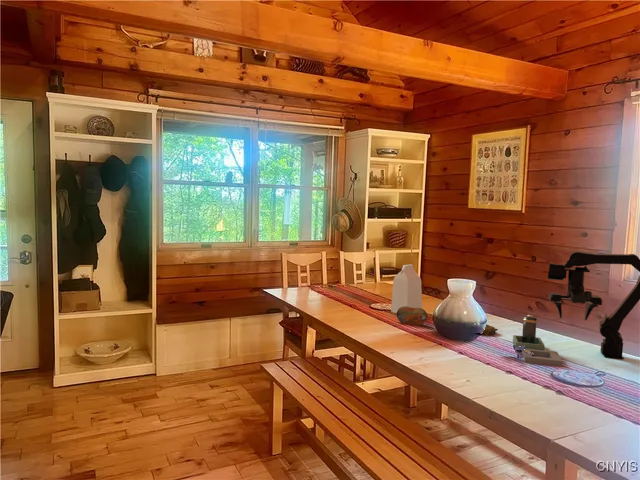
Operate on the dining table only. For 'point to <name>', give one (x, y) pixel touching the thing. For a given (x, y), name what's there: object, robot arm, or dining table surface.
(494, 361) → the dining table surface
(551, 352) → the tester cradle
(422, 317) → the tin
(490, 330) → the decorative rock
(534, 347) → the cup
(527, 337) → the battery cell
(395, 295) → the milk
